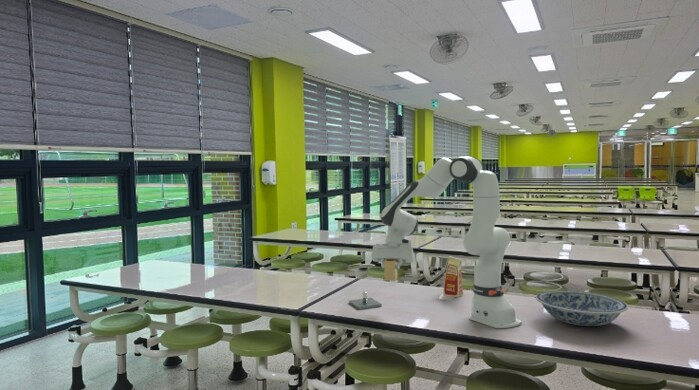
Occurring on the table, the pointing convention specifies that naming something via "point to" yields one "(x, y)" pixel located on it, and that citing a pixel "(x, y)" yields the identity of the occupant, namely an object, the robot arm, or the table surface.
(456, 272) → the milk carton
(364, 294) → the grey peg base
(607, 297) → the ceramic bowl
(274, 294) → the table surface
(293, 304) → the table surface
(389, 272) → the sleeve
